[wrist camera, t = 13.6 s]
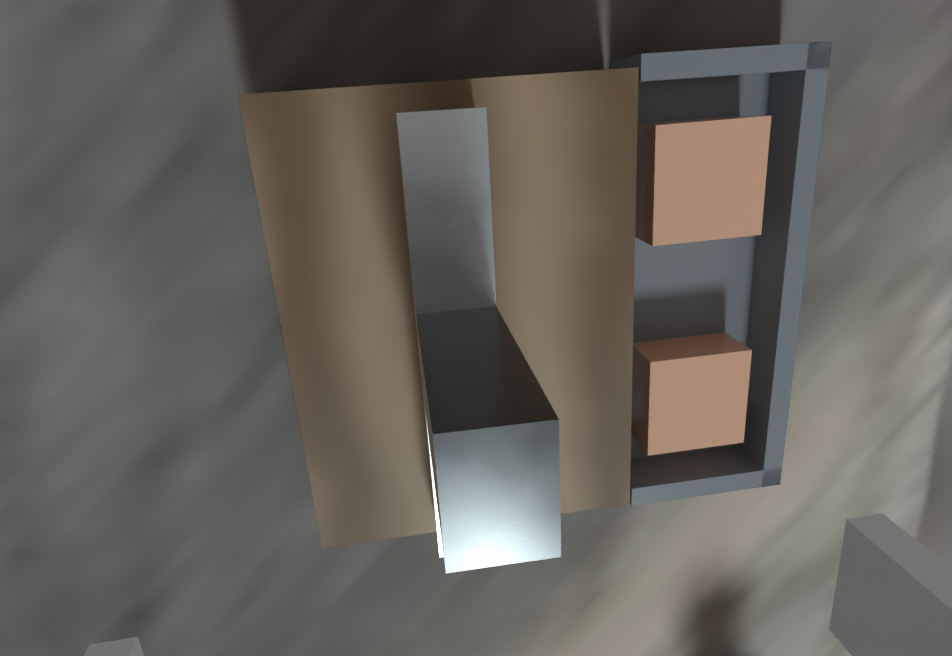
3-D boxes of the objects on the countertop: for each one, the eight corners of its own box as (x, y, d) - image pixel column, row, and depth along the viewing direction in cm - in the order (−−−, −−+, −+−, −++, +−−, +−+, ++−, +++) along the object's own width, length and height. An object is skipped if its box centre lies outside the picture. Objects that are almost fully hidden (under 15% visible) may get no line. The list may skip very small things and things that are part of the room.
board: (329, 498, 33) (322, 548, 29) (259, 96, 26) (237, 94, 22) (603, 461, 34) (629, 504, 31) (604, 72, 28) (638, 67, 24)
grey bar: (434, 514, 29) (464, 765, 18) (395, 112, 23) (402, 115, 12) (497, 505, 30) (564, 748, 18) (474, 107, 23) (554, 105, 12)
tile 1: (629, 431, 33) (647, 455, 30) (630, 343, 31) (650, 362, 29) (718, 419, 33) (743, 442, 31) (724, 332, 32) (751, 350, 29)
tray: (608, 468, 35) (631, 505, 31) (611, 60, 27) (641, 53, 24) (743, 449, 35) (779, 484, 32) (780, 49, 28) (831, 41, 25)
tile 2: (631, 235, 29) (652, 246, 27) (632, 124, 27) (655, 125, 25) (731, 225, 30) (761, 234, 27) (739, 115, 28) (771, 115, 26)
